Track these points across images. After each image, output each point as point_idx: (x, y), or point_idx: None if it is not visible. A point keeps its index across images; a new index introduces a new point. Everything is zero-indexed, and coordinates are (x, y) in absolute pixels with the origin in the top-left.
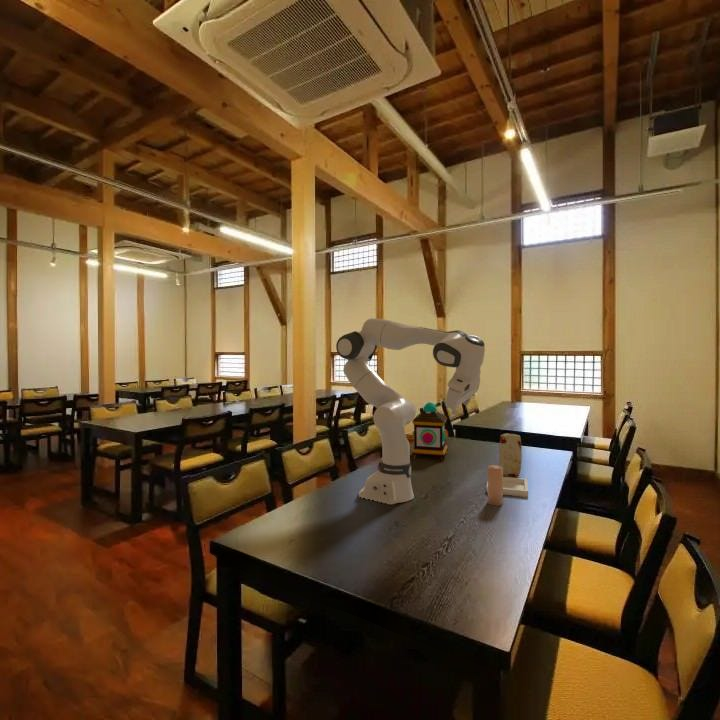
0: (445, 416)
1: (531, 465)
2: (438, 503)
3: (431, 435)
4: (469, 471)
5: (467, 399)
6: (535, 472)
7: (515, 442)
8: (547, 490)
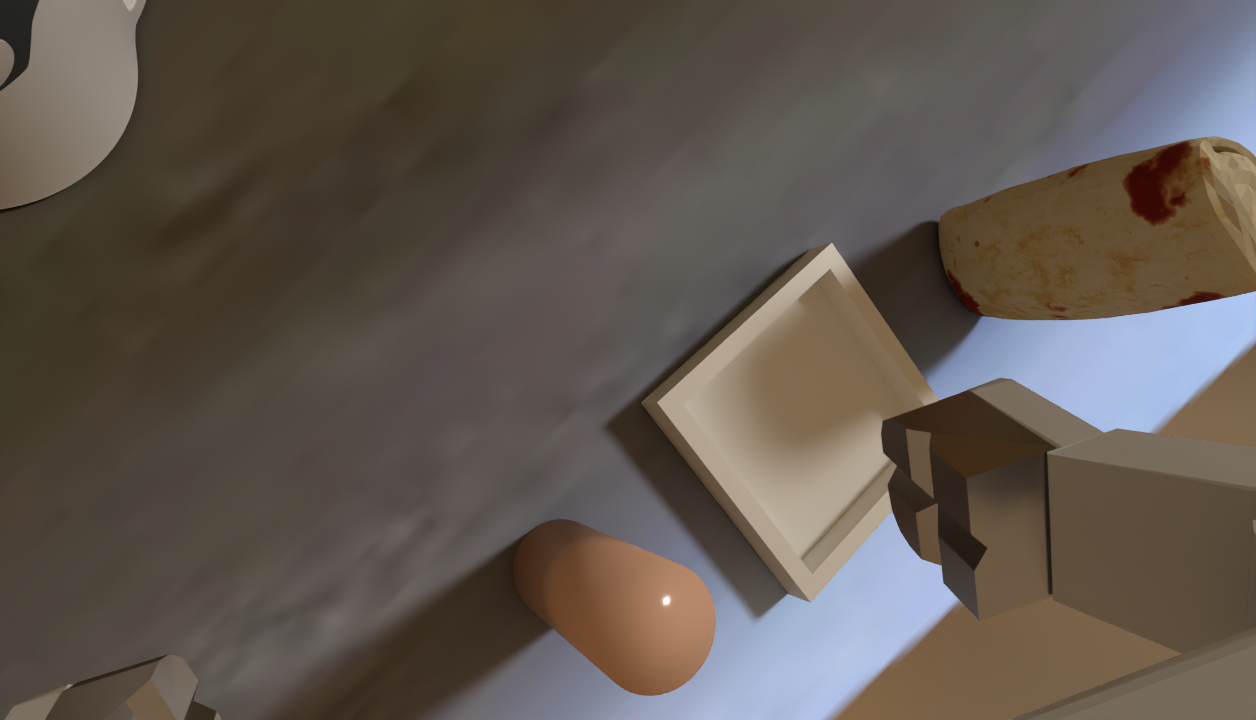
0: None
1: None
2: (190, 375)
3: None
4: (831, 46)
5: (1088, 549)
6: None
7: (1188, 283)
8: None
